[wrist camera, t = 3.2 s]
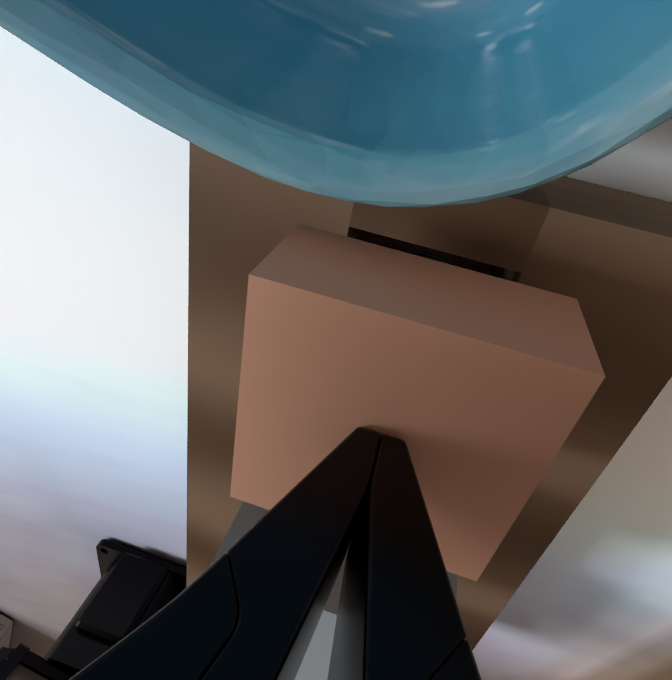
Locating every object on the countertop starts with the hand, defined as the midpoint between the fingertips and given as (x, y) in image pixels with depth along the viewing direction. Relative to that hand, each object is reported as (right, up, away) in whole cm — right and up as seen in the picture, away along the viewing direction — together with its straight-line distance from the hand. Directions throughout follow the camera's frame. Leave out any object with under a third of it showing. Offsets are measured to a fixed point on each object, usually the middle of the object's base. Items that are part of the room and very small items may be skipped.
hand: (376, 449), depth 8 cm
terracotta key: (+1, +3, +5) cm, 6 cm away
